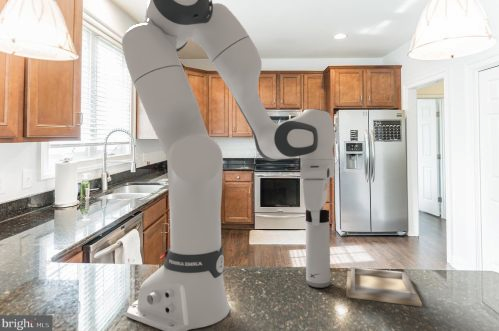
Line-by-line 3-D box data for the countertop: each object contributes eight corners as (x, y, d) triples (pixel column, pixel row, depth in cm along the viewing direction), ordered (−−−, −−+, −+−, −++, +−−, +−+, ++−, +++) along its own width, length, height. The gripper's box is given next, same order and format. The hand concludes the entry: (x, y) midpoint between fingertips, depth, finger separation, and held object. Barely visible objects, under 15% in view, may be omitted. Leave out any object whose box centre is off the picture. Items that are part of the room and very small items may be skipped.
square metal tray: (346, 297, 71) (346, 287, 71) (347, 273, 86) (347, 265, 86) (421, 306, 66) (421, 296, 66) (409, 279, 81) (408, 271, 81)
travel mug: (313, 289, 75) (312, 210, 75) (302, 280, 81) (301, 207, 81) (335, 286, 77) (334, 209, 77) (322, 277, 83) (321, 206, 83)
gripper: (310, 170, 90) (311, 215, 90) (298, 171, 71) (299, 229, 71) (332, 170, 88) (332, 216, 88) (326, 171, 69) (326, 231, 69)
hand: (317, 222), depth 79 cm, fingers closed on travel mug, 6 cm apart
